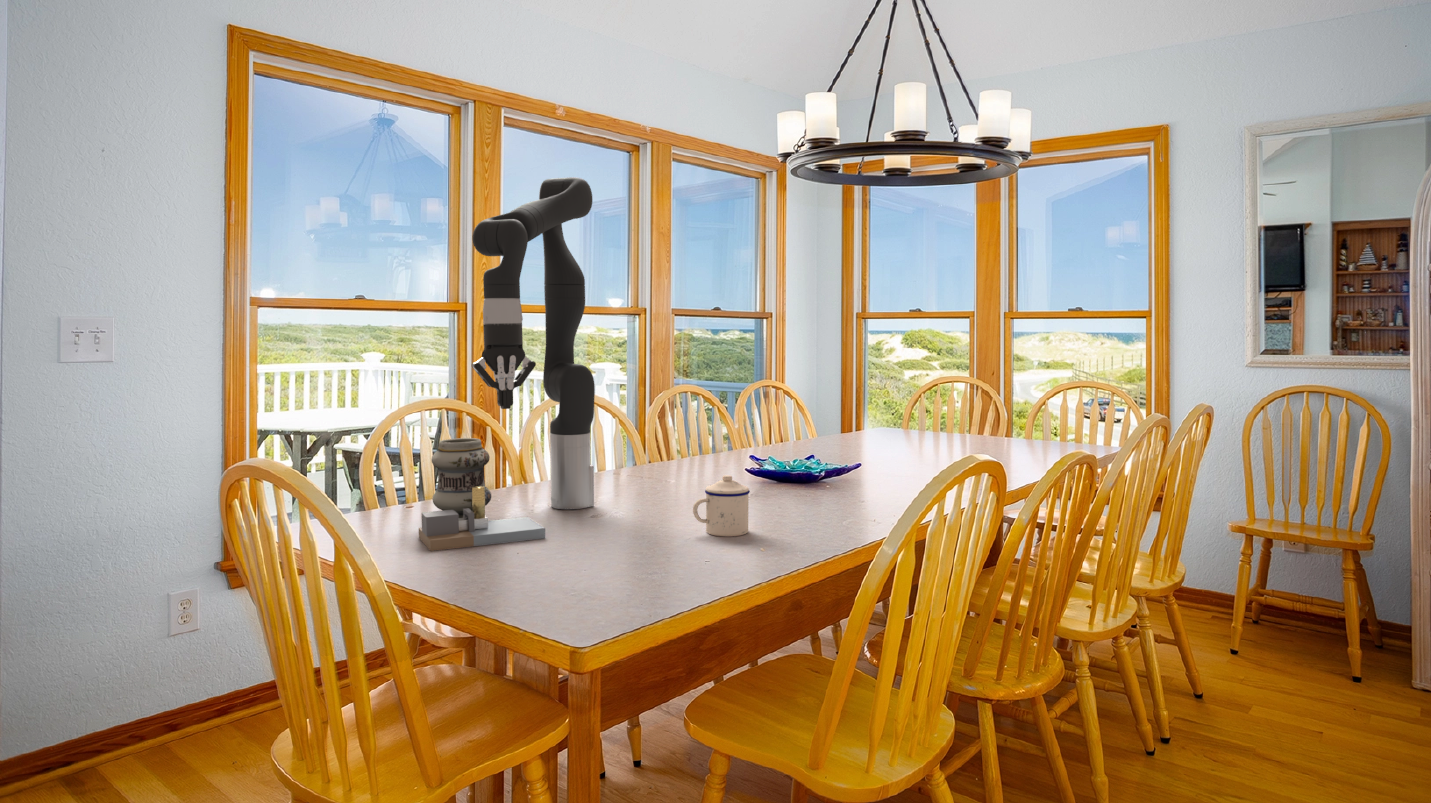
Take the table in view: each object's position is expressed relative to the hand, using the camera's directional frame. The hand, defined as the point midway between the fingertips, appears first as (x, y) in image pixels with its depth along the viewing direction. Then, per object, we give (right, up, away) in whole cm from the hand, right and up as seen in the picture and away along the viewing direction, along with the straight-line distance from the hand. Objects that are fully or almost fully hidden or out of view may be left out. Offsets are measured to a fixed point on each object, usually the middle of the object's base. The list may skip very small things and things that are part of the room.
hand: (505, 408), depth 179 cm
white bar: (-8, -24, -4) cm, 25 cm away
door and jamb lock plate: (-4, -26, -2) cm, 26 cm away
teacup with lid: (+43, -26, +3) cm, 50 cm away
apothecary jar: (-11, -25, +10) cm, 29 cm away
